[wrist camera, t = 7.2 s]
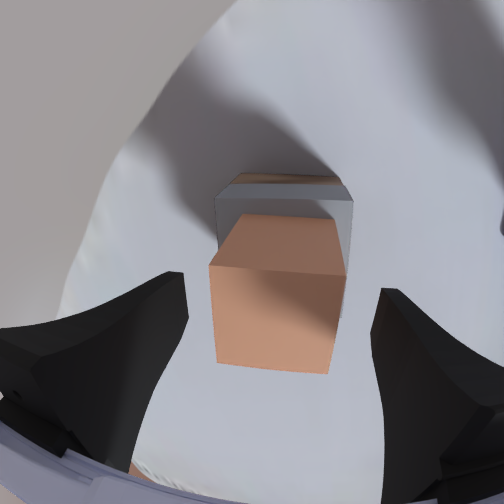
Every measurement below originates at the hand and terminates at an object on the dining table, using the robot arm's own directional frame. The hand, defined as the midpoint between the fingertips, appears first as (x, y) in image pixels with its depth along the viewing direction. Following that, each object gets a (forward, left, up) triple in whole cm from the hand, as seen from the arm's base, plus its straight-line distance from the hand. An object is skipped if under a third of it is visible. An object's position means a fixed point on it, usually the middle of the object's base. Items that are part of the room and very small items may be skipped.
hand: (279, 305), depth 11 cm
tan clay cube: (0, 0, -4) cm, 4 cm away
